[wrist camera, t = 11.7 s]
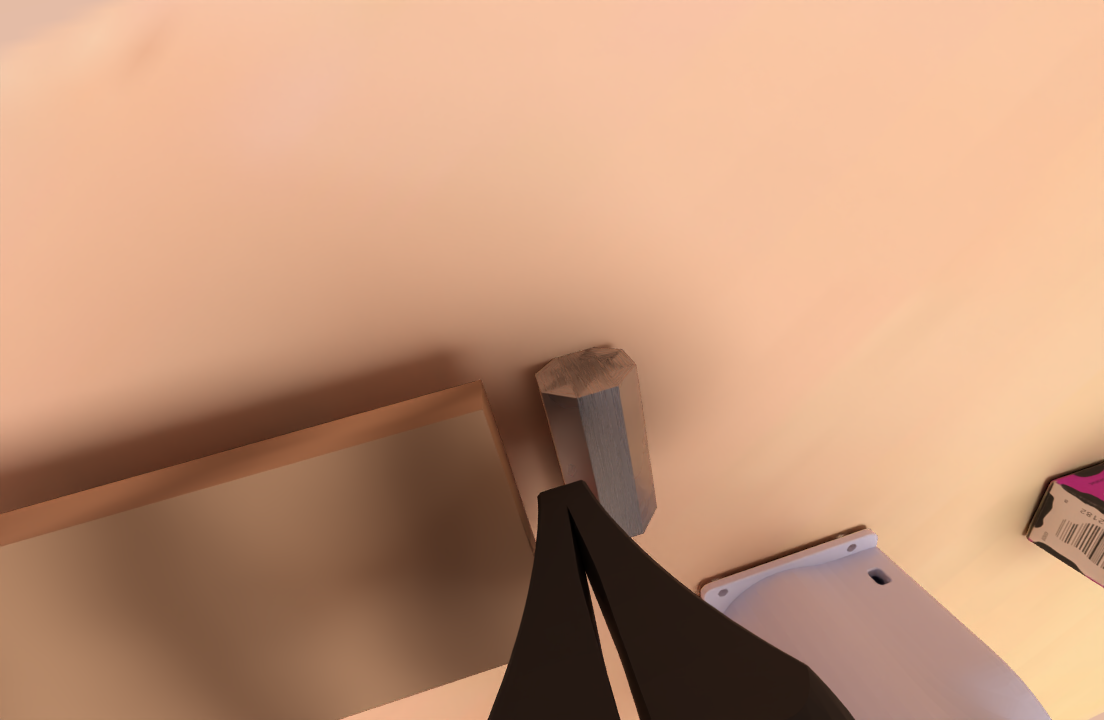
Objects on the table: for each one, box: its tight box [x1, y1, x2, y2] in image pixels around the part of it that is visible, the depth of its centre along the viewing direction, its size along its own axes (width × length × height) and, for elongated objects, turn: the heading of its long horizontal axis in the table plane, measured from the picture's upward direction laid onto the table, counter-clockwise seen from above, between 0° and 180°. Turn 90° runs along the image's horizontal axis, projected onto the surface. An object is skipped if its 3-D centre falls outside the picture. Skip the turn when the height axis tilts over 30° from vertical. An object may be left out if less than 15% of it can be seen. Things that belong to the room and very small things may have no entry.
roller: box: [535, 347, 657, 538], centre depth 14 cm, size 3×6×3 cm
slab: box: [0, 380, 536, 720], centre depth 11 cm, size 16×9×2 cm, turn 102°
